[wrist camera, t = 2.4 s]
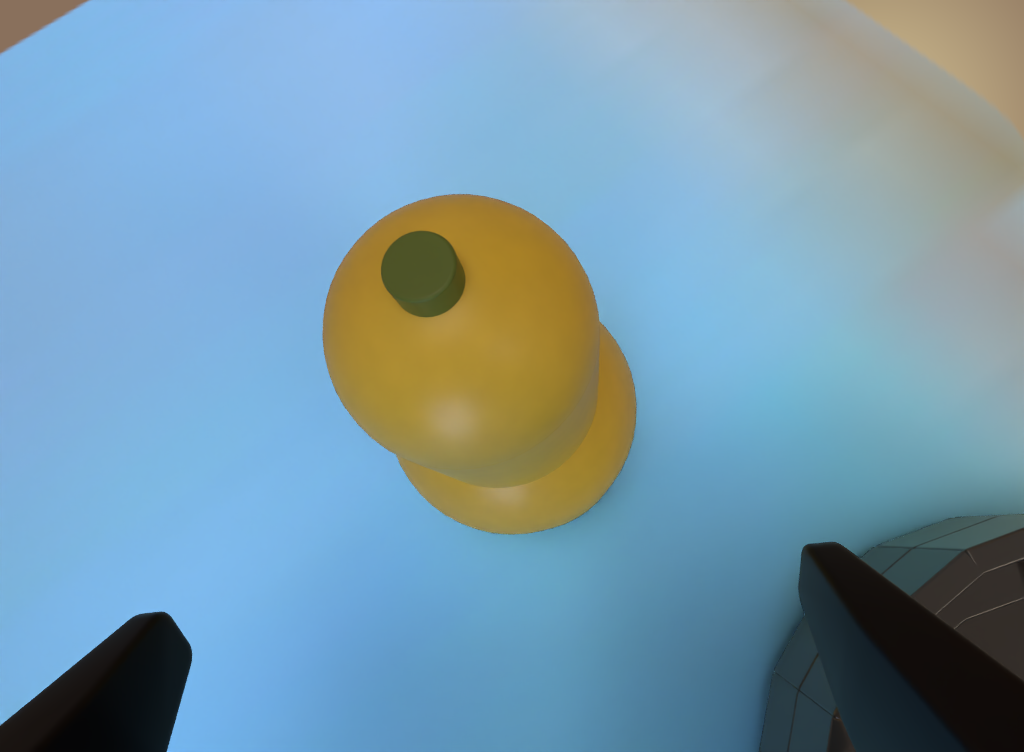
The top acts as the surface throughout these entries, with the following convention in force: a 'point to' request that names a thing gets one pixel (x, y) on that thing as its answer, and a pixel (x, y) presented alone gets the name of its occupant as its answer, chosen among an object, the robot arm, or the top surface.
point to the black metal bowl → (936, 585)
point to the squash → (481, 363)
